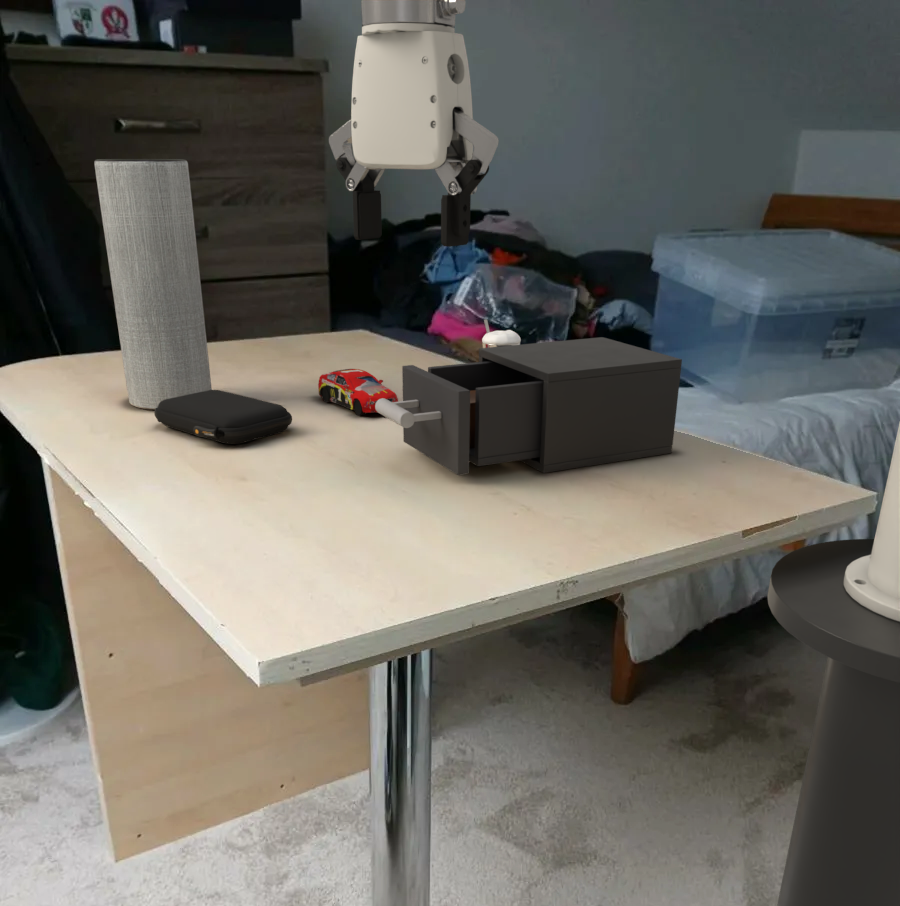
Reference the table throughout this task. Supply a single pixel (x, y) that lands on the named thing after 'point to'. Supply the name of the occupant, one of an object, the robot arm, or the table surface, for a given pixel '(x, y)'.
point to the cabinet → (597, 399)
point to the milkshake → (499, 338)
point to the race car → (354, 390)
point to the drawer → (448, 413)
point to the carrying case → (223, 416)
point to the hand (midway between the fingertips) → (410, 241)
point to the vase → (154, 277)
